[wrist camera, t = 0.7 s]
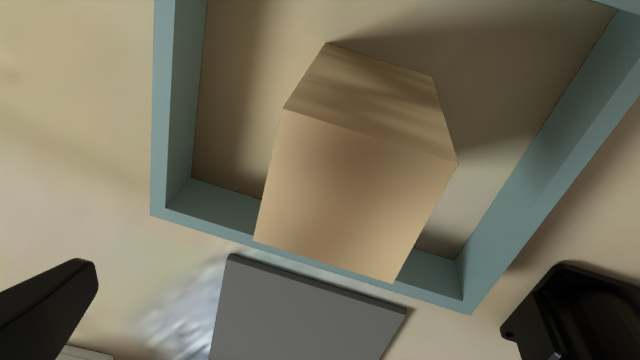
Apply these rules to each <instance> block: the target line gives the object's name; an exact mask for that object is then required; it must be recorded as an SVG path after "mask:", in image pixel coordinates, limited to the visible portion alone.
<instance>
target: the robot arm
mask: <svg viewBox="0 0 640 360" xmlns="http://www.w3.org/2000/svg"><path fill="white" fill-rule="evenodd" d="M561 272H563V273H561ZM559 273H561V274H559ZM98 286H99V284H98V279H97V274H96V269H95V265H94V263H93V262H91V261H88V260H84V259H81V258H74V259H71V260H69V261H67V262H64V263H62V264H60V265H58V266H56V267H54V268H51V269H49V270H47V271H45V272H43V273H41V274H38V275H36V276H34V277H32V278H30V279H28V280H25V281H23V282H21V283H19V284H17V285H15V286H13V287H10V288H8V289H6V290H4V291H2V292H0V360H55V359H56V358H57V357H58V355H59V354H60V352H61V351H62V349H63V348H64V346H65V345H66V343H67V341H68V340H69V338H70V336H71V335H72V333H73V332H74V330H75V328H76V327H77V325H78V323H79V322H80V320H81V318H82V317H83V315H84V314H85V312H86V310H87V309H88V307H89V305H90V304H91V302H92V300H93V299H94V297H95V296H96V294H97V291H98ZM500 333H501V336H502V337H503V338H504V339H507V340H510V341H513V342H516V343H517V346H518V349H519V352H520V355H521V358H522V360H640V287H637V286H634V285H631V284H627V283H624V282H621V281H618V280H615V279H612V278H608V277H605V276H602V275H599V274H596V273H592V272H589V271H586V270H583V269H580V268H577V267H573V266H570V265H567V264H562V263H561V264H556V265H554V266H553V267H551V269H550V270H549V271H548V272H547V273H546V274H545V276H544V277H543V278H542V279H541V280H540V281H539V283H538V284H537V285H536V286H535V287H534V288H533V290H532V291H531V292H530V293H529V294H528V295H527V297H526V298H525V299H524V300H523V301H522V302H521V304H520V305H519V306H518V307H517V308H516V309H515V311H514V312H513V313H512V314H511V315H510V316H509V318H508V319H507V320H506V321H505V322H504V323H503V324H502V326H501V327H500Z"/></svg>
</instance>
